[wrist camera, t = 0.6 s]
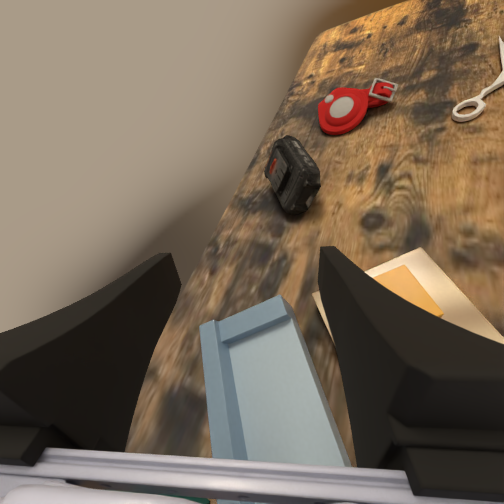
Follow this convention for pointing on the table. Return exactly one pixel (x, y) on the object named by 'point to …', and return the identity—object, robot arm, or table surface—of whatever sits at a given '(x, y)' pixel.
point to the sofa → (266, 391)
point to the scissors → (477, 100)
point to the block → (408, 289)
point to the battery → (292, 175)
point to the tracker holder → (352, 106)
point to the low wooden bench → (434, 293)
